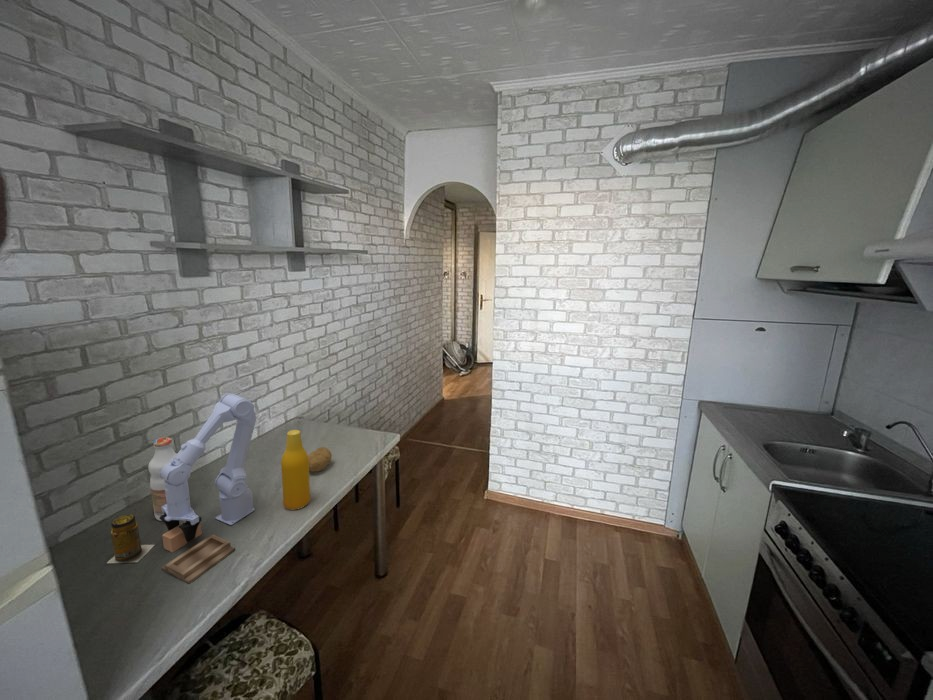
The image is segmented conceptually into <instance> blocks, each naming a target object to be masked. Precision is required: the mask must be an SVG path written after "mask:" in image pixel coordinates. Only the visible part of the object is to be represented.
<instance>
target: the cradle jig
mask: <svg viewBox="0 0 933 700" xmlns="http://www.w3.org/2000/svg"><path fill="white" fill-rule="evenodd" d="M235 551H236V548H235V547H234V546H231V542H230V541H228V540H226V539H225V538H222V537H220V536H217V535H216V534H211V535H209V536H207V537H206V538H204V539H202V540H201V541H199V542H198V543H197V544H196V543H195V545H193V546H192V547H190V548H188V549H187V550H185V551H183V553H181V554H179V555H178V556H176V557H175V558H172V560H170V561H168V562H167V563H165V564H164V565H162V566H160V568H161V571H163V572H165V573H167V574H169V575H171V576H172V577H174V578H177V579H179V580H181V581H182V582H184V583H186V584H188V585H190V584H191V583H193V582H194V581H195V580H197V579H198V578H199V577H201V576H202V575H204V574H206V572H208V571H209V570H210V569H212V568H213V567H215V566H216V565H217V564H219V563H220V562H221V561H223V560H224V559H225V558H227V557H228V556H230V555H231V554H232V553H234V552H235Z"/></svg>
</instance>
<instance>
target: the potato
mask: <svg viewBox="0 0 933 700" xmlns="http://www.w3.org/2000/svg"><path fill="white" fill-rule="evenodd" d="M307 455H308V460H309V472H310V471H311V472H312V473H317V472H320V471H323V469H325V468H326V467H327V466H328V465H329V464H330V463H331V461H332V456H333V455H332V452H331V450H330V449H329V448H327V447H325V446H323V447H319V448H317V449H314V450H313V451H312V452H310V453H309V454H307Z"/></svg>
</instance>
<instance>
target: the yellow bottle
mask: <svg viewBox="0 0 933 700" xmlns="http://www.w3.org/2000/svg"><path fill="white" fill-rule="evenodd" d="M308 455H309V454H308V453H307V451H306V450H305V448H304V446H303V441H302V436H301V431H300V430H298V429H291V430H289V431H288V432H287V434H286V446H285V450H284V452H283V454H282V457H281V461H280V462H281V463H280V465H281V466H280V467H281V479H282V480H281V482H282V502H283V507H284V509H286V508H287V509H286V510H288V509H298V508H301V507H303V506H305V505H306V504H308V505H309V503H310V500H311V493H310V492H311V491H310V471H309V460H308ZM308 502H309V503H308ZM305 507H306V506H305ZM301 509H302V508H301ZM298 510H299V509H298Z"/></svg>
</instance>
